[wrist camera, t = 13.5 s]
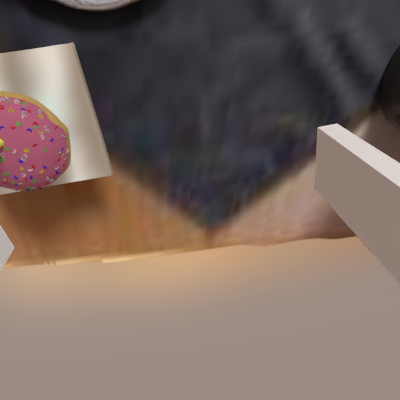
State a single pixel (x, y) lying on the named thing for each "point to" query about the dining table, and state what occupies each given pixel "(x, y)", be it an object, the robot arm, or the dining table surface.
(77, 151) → the white box
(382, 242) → the robot arm
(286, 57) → the dining table surface
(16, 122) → the cupcake
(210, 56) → the dining table surface
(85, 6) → the food plate
